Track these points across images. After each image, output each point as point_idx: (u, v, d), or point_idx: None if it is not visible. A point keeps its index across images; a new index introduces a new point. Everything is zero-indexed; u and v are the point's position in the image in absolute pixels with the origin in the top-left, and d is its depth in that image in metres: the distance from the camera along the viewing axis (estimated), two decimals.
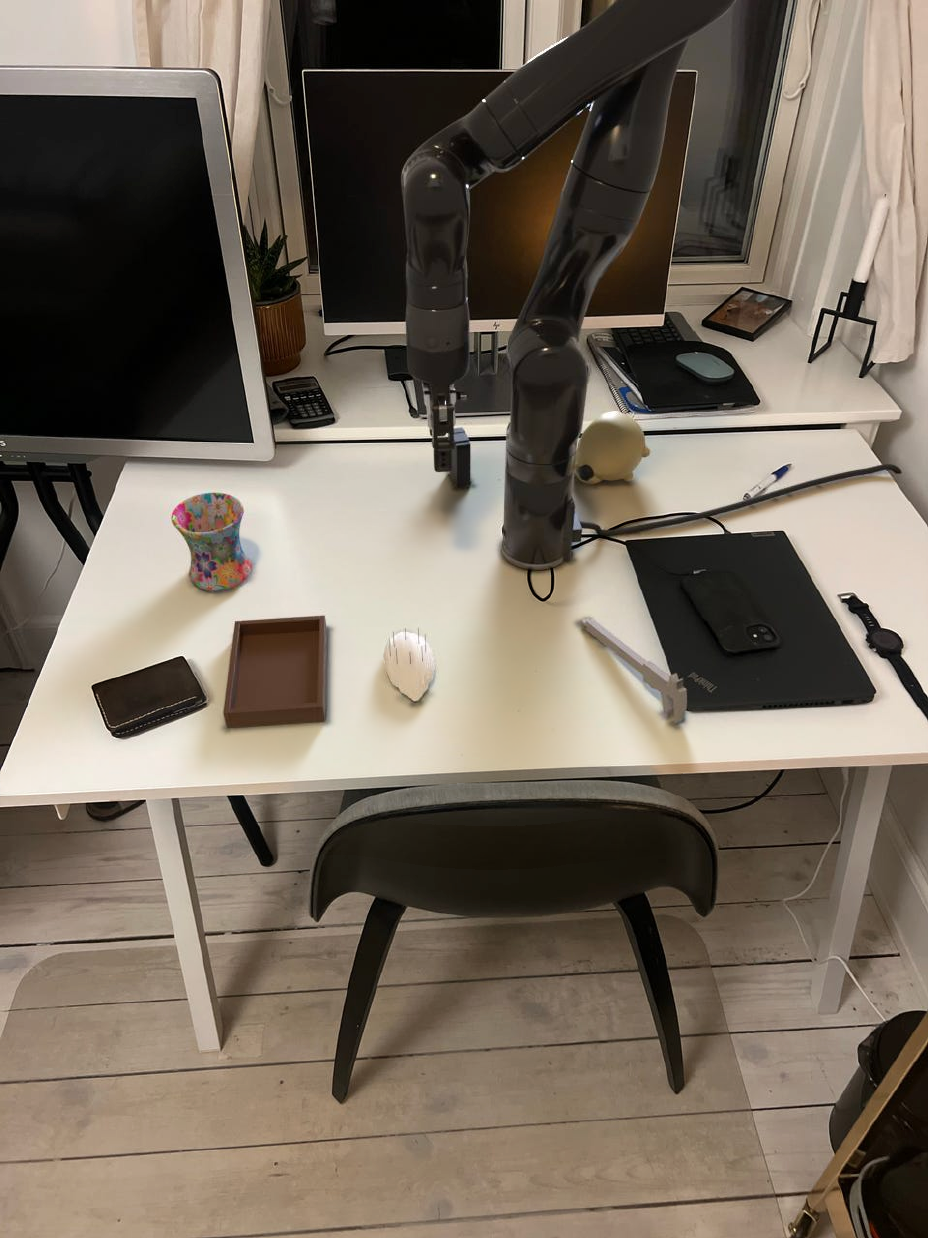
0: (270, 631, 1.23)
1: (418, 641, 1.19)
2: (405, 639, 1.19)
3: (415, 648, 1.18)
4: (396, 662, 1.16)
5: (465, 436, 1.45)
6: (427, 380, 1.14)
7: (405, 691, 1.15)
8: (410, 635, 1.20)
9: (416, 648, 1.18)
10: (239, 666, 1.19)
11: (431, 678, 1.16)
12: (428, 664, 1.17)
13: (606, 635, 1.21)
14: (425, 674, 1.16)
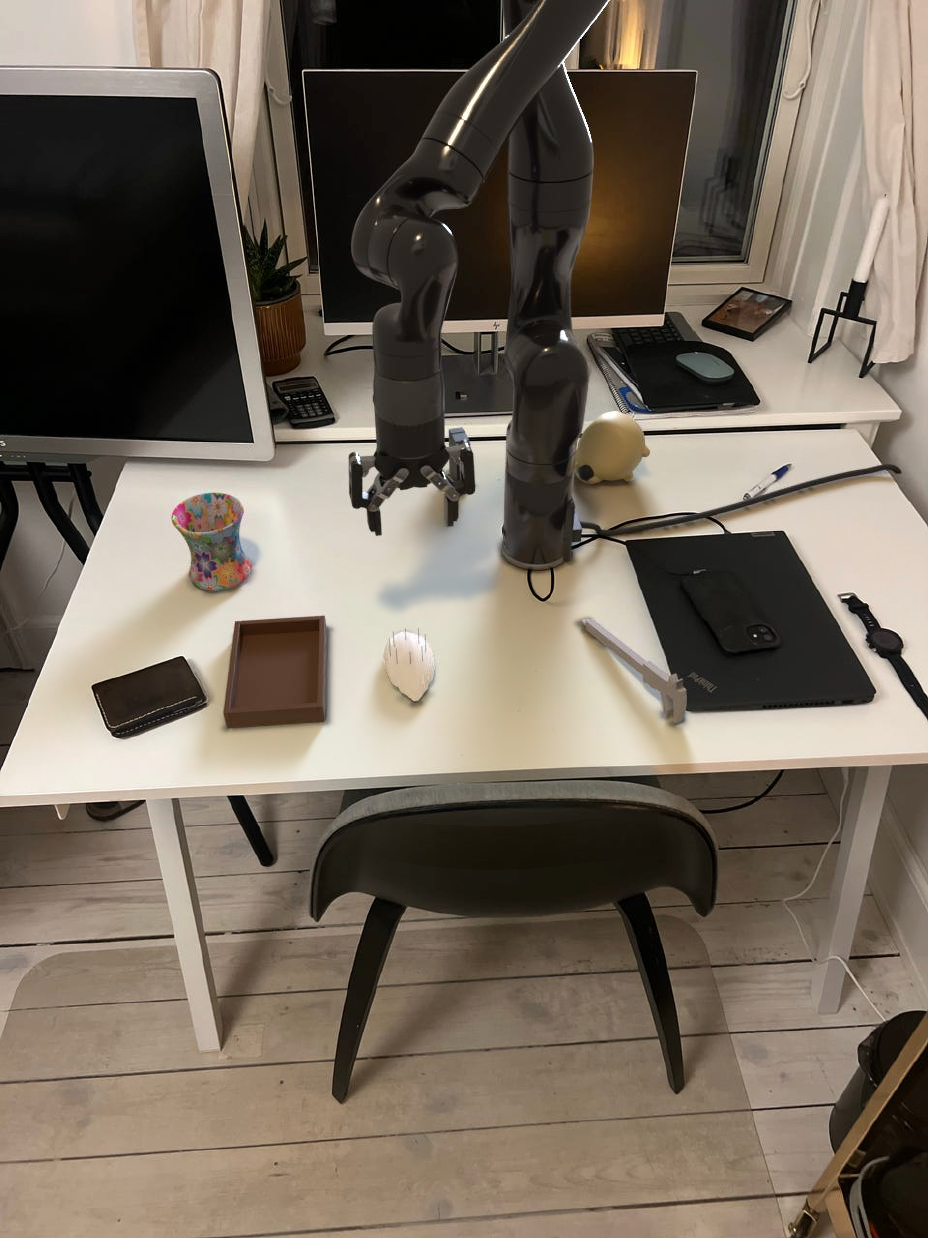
0: (270, 631, 1.23)
1: (418, 641, 1.19)
2: (405, 639, 1.19)
3: (415, 648, 1.18)
4: (396, 662, 1.16)
5: (465, 436, 1.45)
6: None
7: (405, 691, 1.15)
8: (410, 635, 1.20)
9: (416, 648, 1.18)
10: (239, 666, 1.19)
11: (431, 678, 1.16)
12: (428, 664, 1.17)
13: (606, 635, 1.21)
14: (425, 674, 1.16)
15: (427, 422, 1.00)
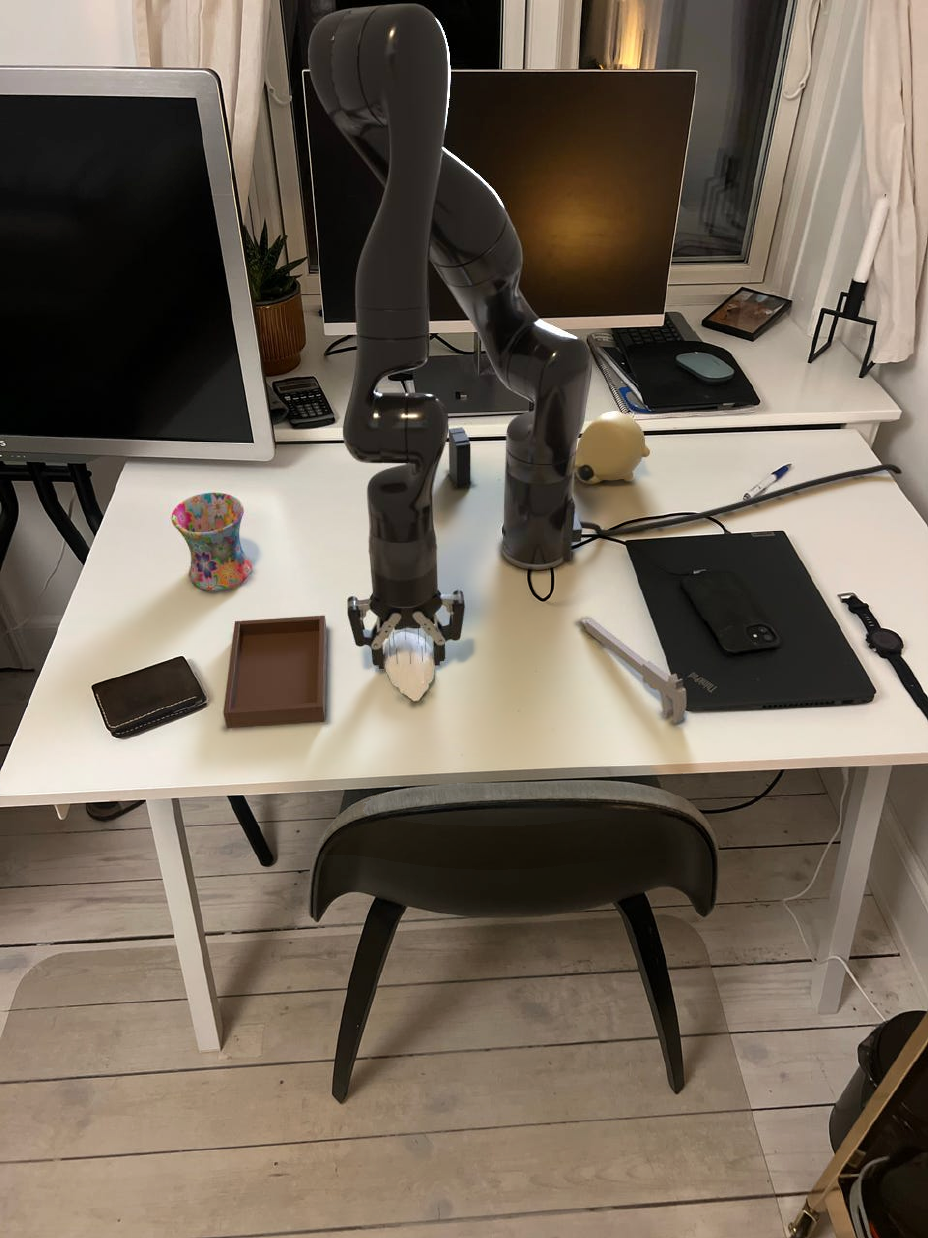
0: (270, 631, 1.23)
1: (418, 641, 1.19)
2: (405, 639, 1.19)
3: (415, 648, 1.18)
4: (396, 662, 1.16)
5: (465, 436, 1.45)
6: None
7: (405, 691, 1.15)
8: (410, 635, 1.20)
9: (416, 648, 1.18)
10: (239, 666, 1.19)
11: (431, 678, 1.16)
12: (428, 664, 1.17)
13: (606, 635, 1.20)
14: (425, 674, 1.16)
15: (416, 578, 1.05)
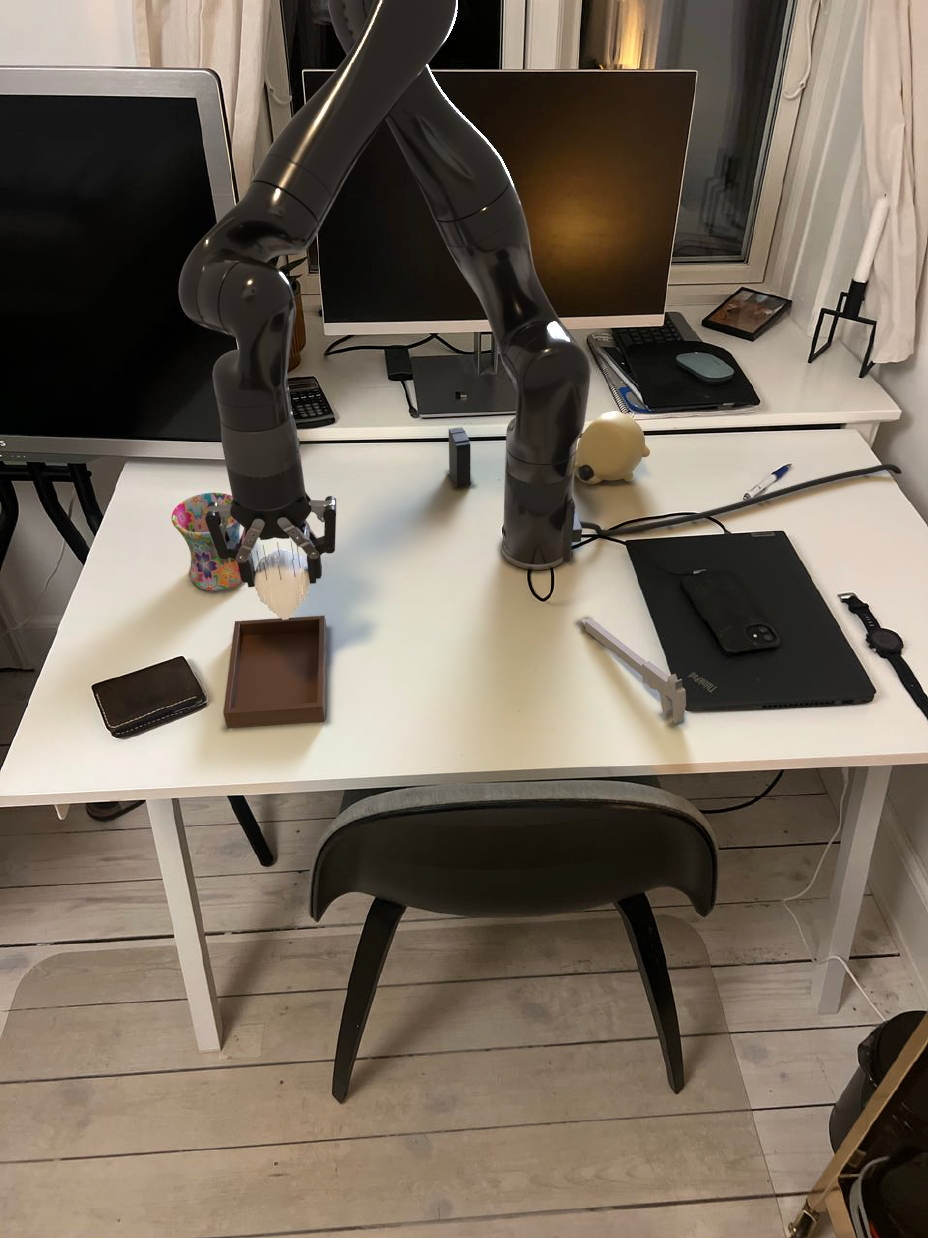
0: (270, 631, 1.23)
1: (293, 557, 1.09)
2: (279, 555, 1.08)
3: (288, 564, 1.07)
4: (266, 578, 1.06)
5: (465, 436, 1.45)
6: None
7: (274, 609, 1.04)
8: (286, 552, 1.10)
9: (289, 564, 1.07)
10: (239, 666, 1.19)
11: (304, 595, 1.06)
12: (301, 580, 1.06)
13: (605, 635, 1.20)
14: (297, 591, 1.05)
15: (273, 474, 0.95)
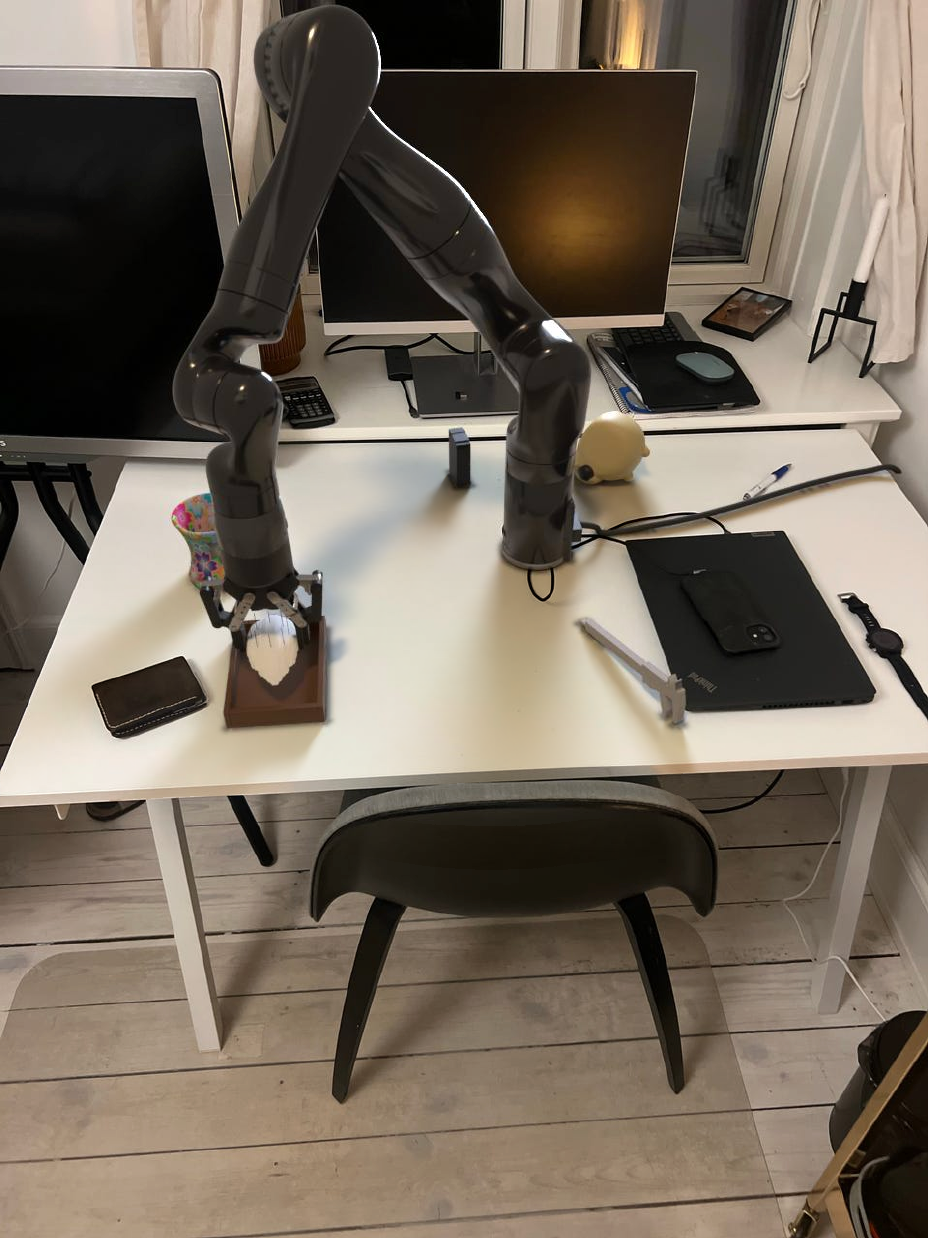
0: None
1: (283, 624, 1.15)
2: (269, 622, 1.15)
3: (278, 631, 1.14)
4: (257, 645, 1.13)
5: (465, 436, 1.45)
6: None
7: (265, 675, 1.11)
8: (276, 618, 1.17)
9: (279, 631, 1.14)
10: (239, 666, 1.19)
11: (292, 662, 1.12)
12: (290, 647, 1.13)
13: (605, 635, 1.20)
14: (286, 657, 1.12)
15: (262, 556, 1.02)
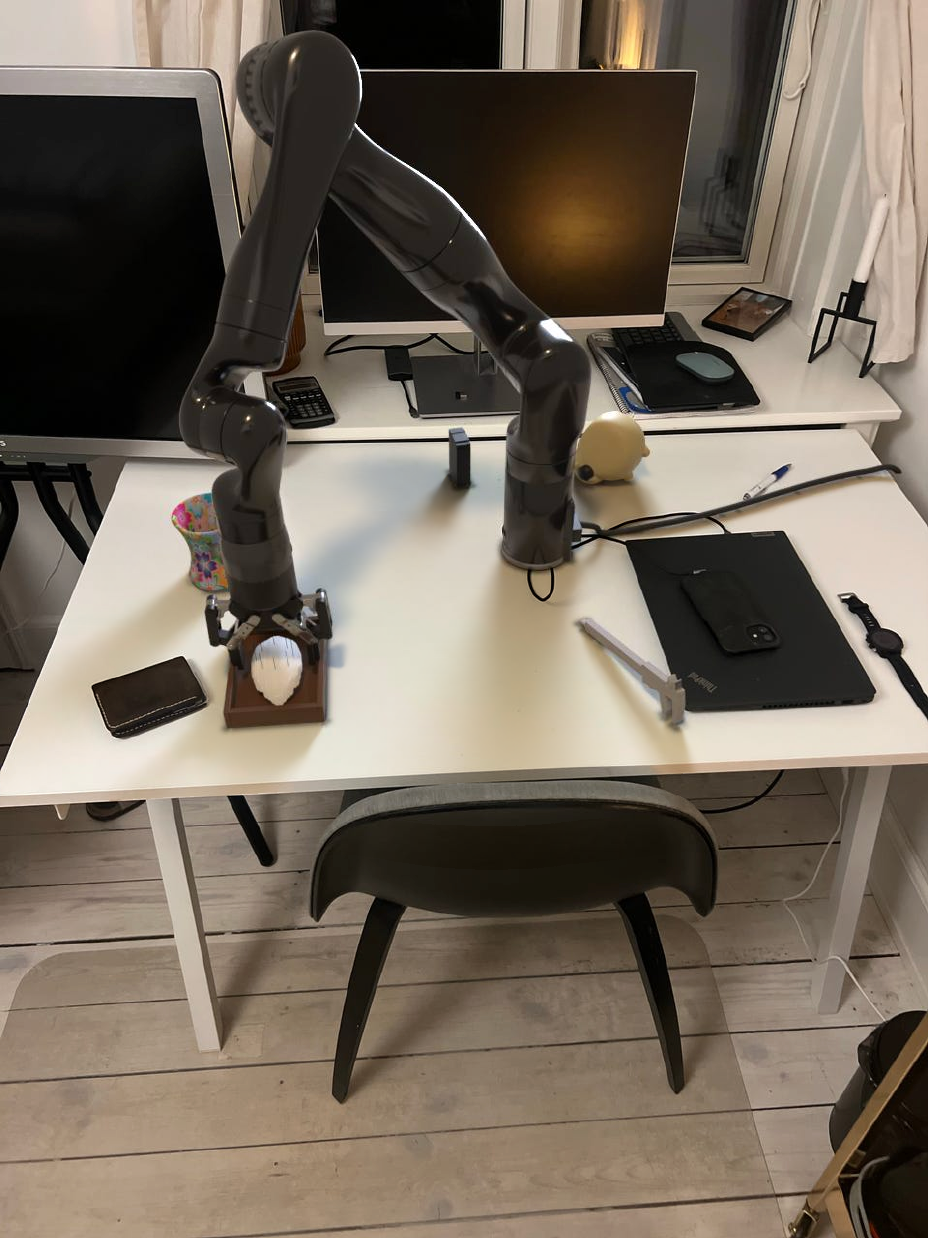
0: (270, 631, 1.23)
1: (287, 646, 1.18)
2: (274, 644, 1.18)
3: (282, 653, 1.16)
4: (261, 667, 1.15)
5: (465, 436, 1.45)
6: None
7: (269, 696, 1.14)
8: (280, 639, 1.19)
9: (283, 653, 1.16)
10: None
11: (296, 683, 1.15)
12: (294, 669, 1.15)
13: (605, 635, 1.20)
14: (290, 679, 1.14)
15: (267, 580, 1.04)
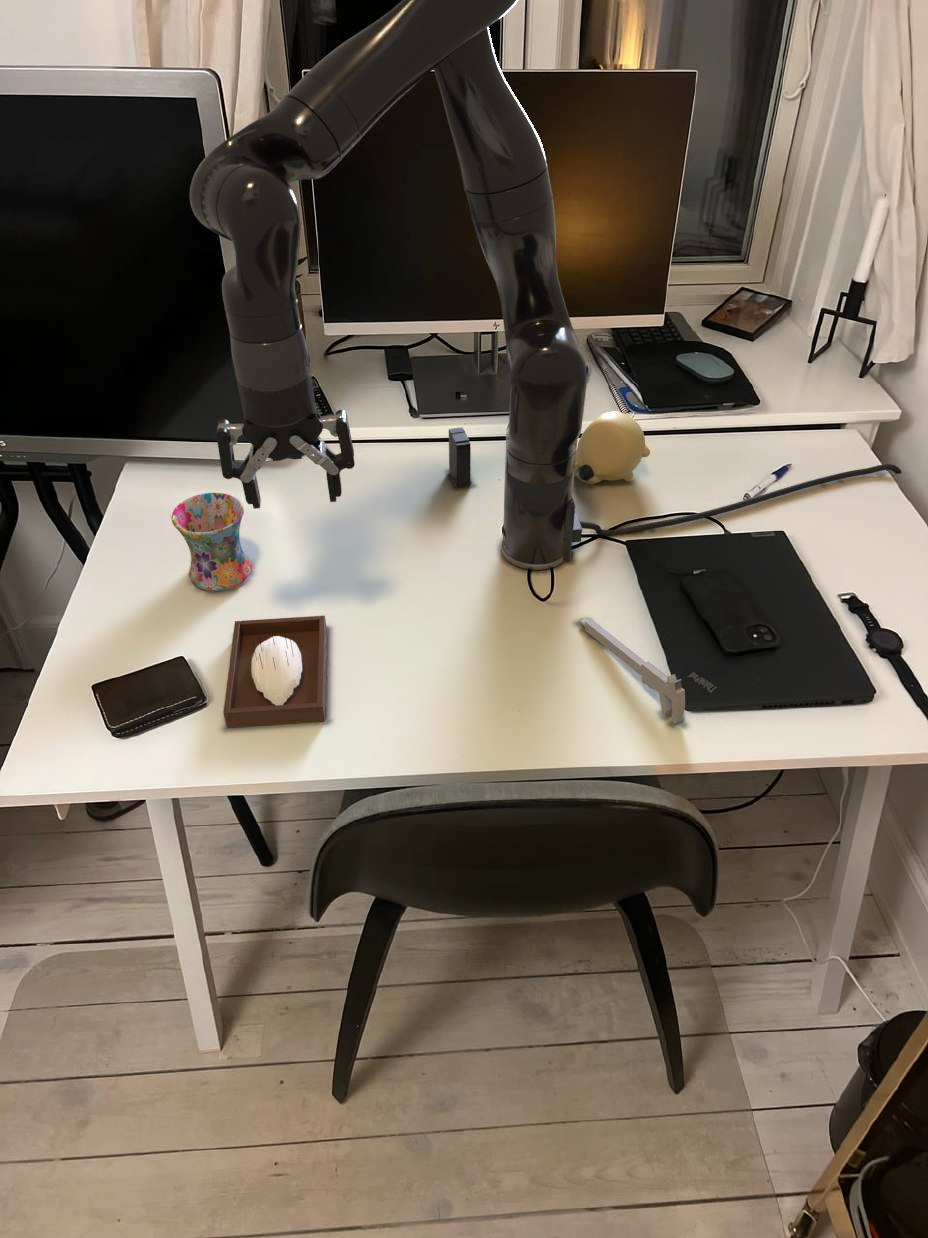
0: (270, 631, 1.23)
1: (287, 646, 1.18)
2: (274, 644, 1.18)
3: (282, 653, 1.16)
4: (261, 667, 1.15)
5: (465, 436, 1.45)
6: None
7: (269, 696, 1.14)
8: (280, 639, 1.19)
9: (283, 653, 1.16)
10: (239, 666, 1.19)
11: (296, 683, 1.15)
12: (294, 669, 1.15)
13: (605, 635, 1.20)
14: (290, 679, 1.14)
15: (285, 388, 0.95)
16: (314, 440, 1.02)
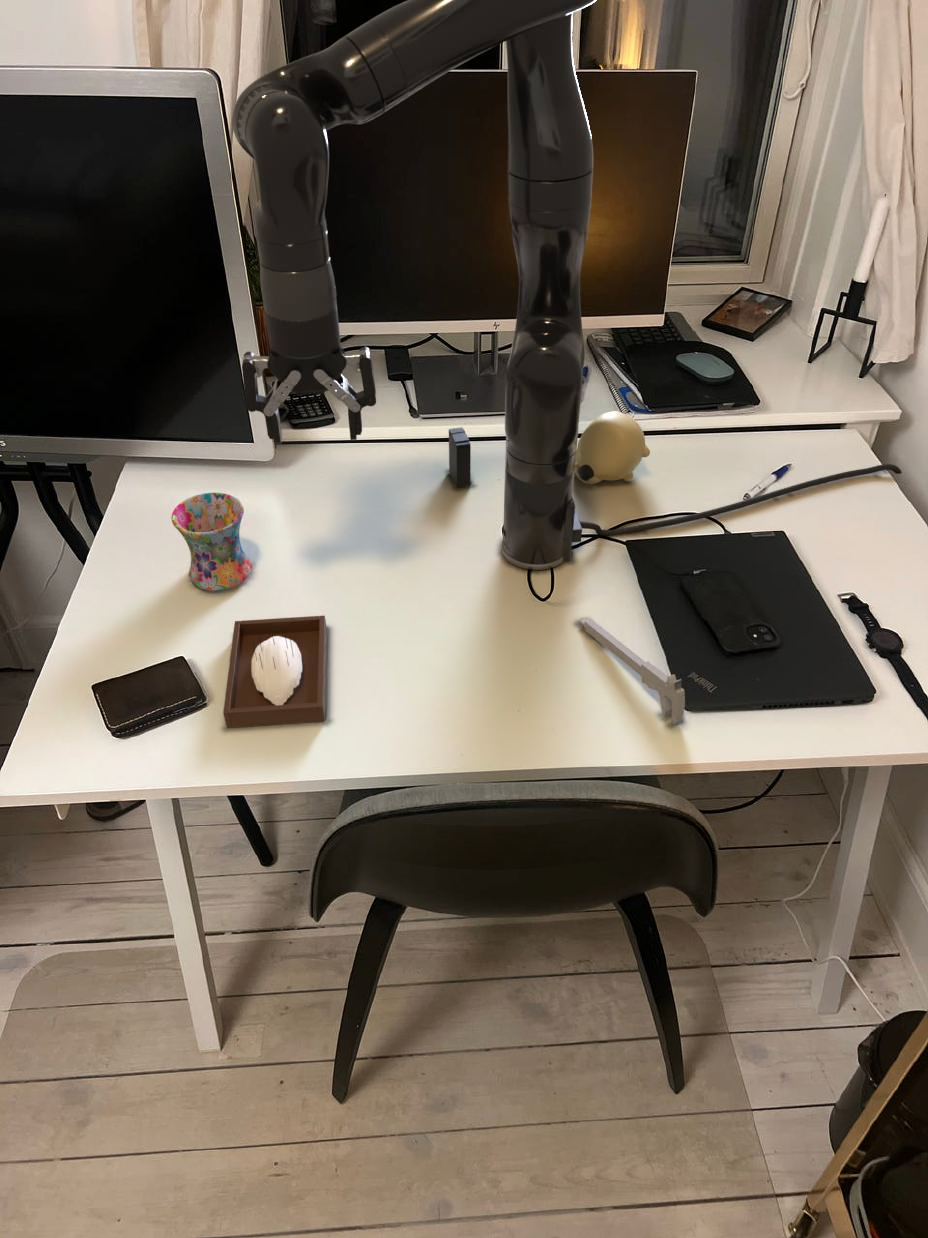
0: (270, 631, 1.23)
1: (287, 646, 1.18)
2: (274, 644, 1.18)
3: (282, 653, 1.16)
4: (261, 667, 1.15)
5: (465, 436, 1.45)
6: None
7: (269, 696, 1.14)
8: (280, 639, 1.19)
9: (283, 653, 1.16)
10: (239, 666, 1.19)
11: (296, 683, 1.15)
12: (294, 669, 1.15)
13: (605, 635, 1.20)
14: (290, 679, 1.14)
15: (311, 319, 0.97)
16: (337, 375, 1.04)
